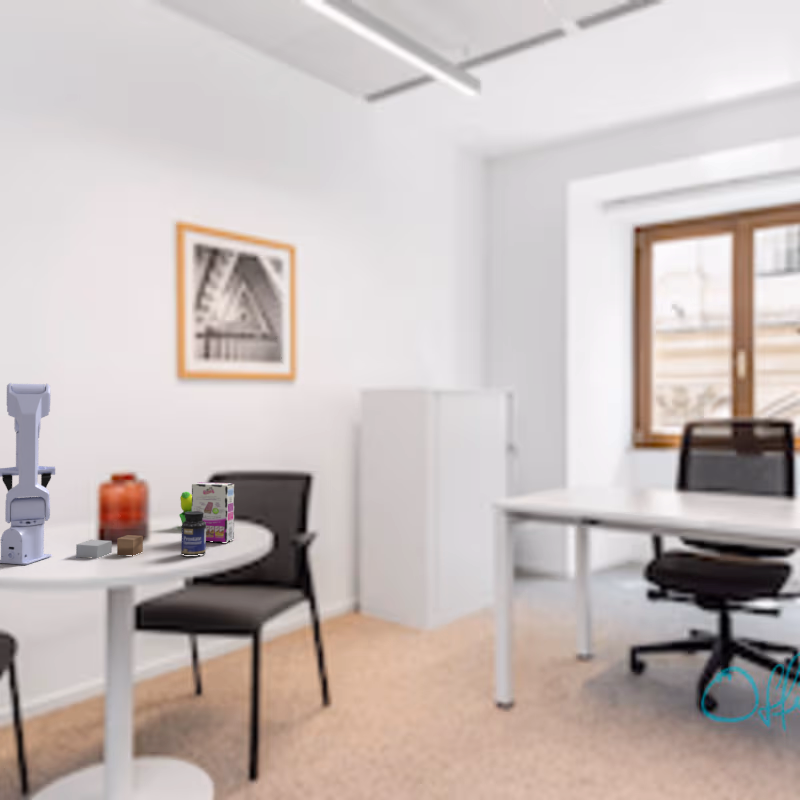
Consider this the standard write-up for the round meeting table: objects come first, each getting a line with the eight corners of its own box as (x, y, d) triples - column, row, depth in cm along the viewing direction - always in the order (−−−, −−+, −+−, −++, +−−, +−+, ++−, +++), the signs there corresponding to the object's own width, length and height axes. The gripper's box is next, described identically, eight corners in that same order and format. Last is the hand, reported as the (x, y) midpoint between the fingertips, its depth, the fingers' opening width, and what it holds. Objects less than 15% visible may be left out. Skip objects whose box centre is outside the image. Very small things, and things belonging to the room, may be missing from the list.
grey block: (97, 559, 178) (97, 545, 178) (76, 558, 179) (76, 544, 179) (111, 554, 183) (111, 541, 183) (91, 553, 185) (91, 539, 185)
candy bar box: (234, 540, 202) (235, 483, 201) (226, 544, 197) (227, 485, 197) (199, 537, 204) (200, 481, 204) (190, 541, 199) (191, 483, 199)
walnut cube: (133, 557, 180) (133, 539, 180) (117, 556, 181) (117, 538, 181) (142, 553, 185) (142, 535, 185) (127, 552, 186) (127, 535, 186)
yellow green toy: (203, 531, 213) (203, 494, 213) (174, 531, 213) (174, 494, 213) (213, 524, 225) (214, 489, 225) (185, 524, 225) (186, 488, 225)
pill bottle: (180, 558, 180) (181, 514, 179) (181, 552, 185) (182, 510, 185) (205, 556, 181) (206, 514, 181) (205, 551, 187) (206, 510, 187)
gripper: (54, 449, 208) (54, 493, 210) (-2, 450, 201) (-2, 496, 204) (55, 455, 202) (55, 500, 204) (-3, 456, 195) (-3, 504, 198)
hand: (26, 499), depth 204 cm, fingers open, 7 cm apart
